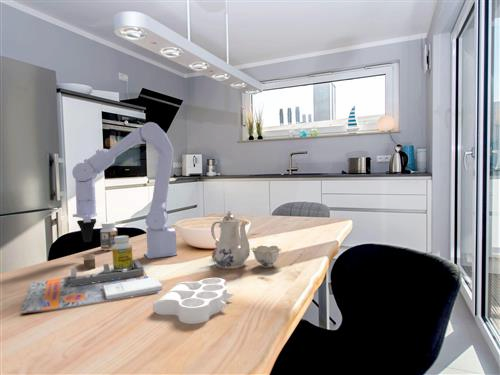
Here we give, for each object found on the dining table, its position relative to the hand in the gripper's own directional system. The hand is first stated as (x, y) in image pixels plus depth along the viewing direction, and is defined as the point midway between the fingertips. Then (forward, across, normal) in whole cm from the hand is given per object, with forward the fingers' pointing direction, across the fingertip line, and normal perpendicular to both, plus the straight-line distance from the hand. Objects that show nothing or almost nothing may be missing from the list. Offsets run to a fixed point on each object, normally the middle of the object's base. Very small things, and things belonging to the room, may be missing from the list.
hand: (87, 241), depth 112 cm
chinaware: (+6, +30, +41) cm, 51 cm away
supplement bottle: (+6, +19, +9) cm, 22 cm away
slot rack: (+6, +22, +4) cm, 24 cm away
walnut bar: (+6, +9, 0) cm, 11 cm away
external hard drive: (+6, +38, +9) cm, 40 cm away
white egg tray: (+6, +55, +20) cm, 59 cm away
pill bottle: (+6, -12, +7) cm, 15 cm away
